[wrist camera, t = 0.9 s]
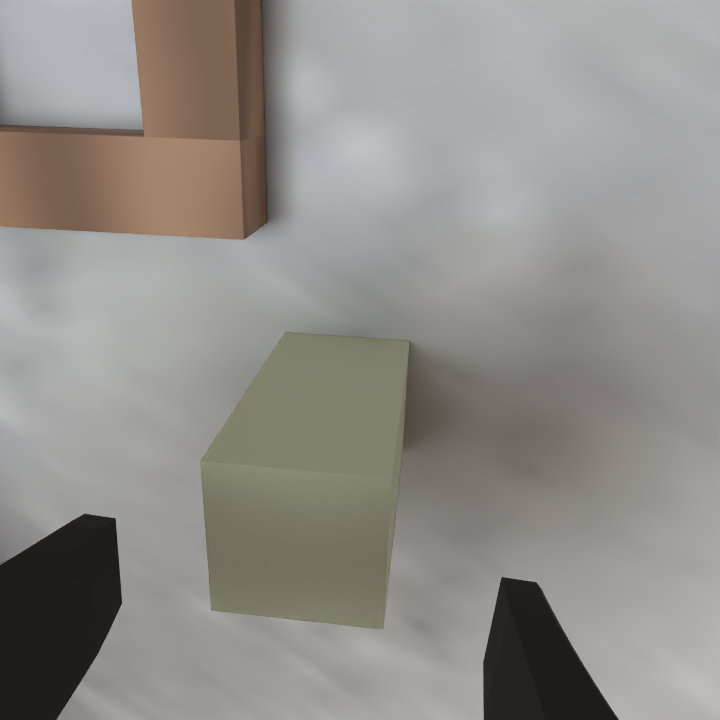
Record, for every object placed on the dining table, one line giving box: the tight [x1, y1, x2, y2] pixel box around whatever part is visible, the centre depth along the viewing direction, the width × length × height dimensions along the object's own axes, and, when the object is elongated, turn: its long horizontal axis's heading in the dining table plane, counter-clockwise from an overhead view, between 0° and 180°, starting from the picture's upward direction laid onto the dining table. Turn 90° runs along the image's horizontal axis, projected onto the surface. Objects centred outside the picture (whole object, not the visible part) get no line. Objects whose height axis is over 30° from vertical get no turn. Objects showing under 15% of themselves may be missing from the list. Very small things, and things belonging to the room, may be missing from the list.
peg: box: [200, 332, 410, 629], centre depth 18 cm, size 4×4×8 cm
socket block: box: [0, 0, 267, 240], centre depth 17 cm, size 11×11×2 cm
